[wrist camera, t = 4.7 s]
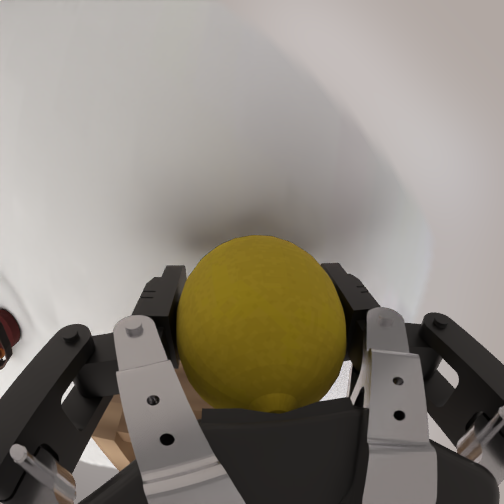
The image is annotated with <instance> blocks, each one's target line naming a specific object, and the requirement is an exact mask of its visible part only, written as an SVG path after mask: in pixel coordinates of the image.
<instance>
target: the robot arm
mask: <svg viewBox="0 0 504 504" xmlns="http://www.w3.org/2000/svg"><path fill="white" fill-rule="evenodd" d="M320 266H321V267H322V268H323V269H324V270H325V272H326V273H327V274H328V276H329V277H330V279H331V280H332V282H333V284H334V287H335V289H336V292H337V294H338V296H339V299H340V302H341V304H342V307H343V311H344V315H345V322H346V355H345V358H344V361H348V360H351V362H352V365H351V368H350V371H349V380H348V388H347V395H346V397H345V398H339V399H333V400H326V401H319V402H315V403H312V404H309V405H306V406H303V407H300V408H297V409H294V410H291V411H288V412H285V413H280V414H277V413H268V412H261V411H254V410H248V409H242V408H223V409H213V408H202V417H201V419H198V420H197V419H196V417H195V415H194V413H193V411H192V409H191V407H190V405H189V402H188V400H187V398H186V396H185V393H184V391H183V389H182V387H181V384H180V382H179V380H178V377H177V375H176V372H175V370H174V369H178V368H179V362H180V357H179V353H178V348H177V339H176V315H177V307H178V303H179V300H180V297H181V294H182V291H183V288H184V285H185V282H186V280H187V278H186V269H185V266H184V265H181V266H166V268H165V270H164V273H163V275H162V277H154V278H153V279H152V280H150V281H149V282H148V283H147V284H146V286H145V288H144V290H143V292H142V294H141V296H140V298H139V300H138V302H137V305H136V307H135V309H134V311H133V313H132V315H131V316H128V317H126V318H123V319H121V320H120V321H119V322H117V324H116V325H115V326H114V329H113V333H109V334H103V335H96V336H92V335H91V333H90V330H89V328H88V327H86V326H85V325H81V324H72V325H68V326H66V327H64V328H62V329H60V330H59V331H58V332H57V333H56V334H55V335H54V336H53V337H52V338H51V339H50V340H49V342H48V343H47V344H46V345H45V346H44V347H43V348H42V349H41V351H40V352H39V353H38V354H37V355H36V356H35V357H34V358H33V360H32V361H31V362H30V363H29V364H28V365H27V367H26V368H25V369H24V370H23V371H22V373H21V374H20V375H19V376H18V377H17V379H16V380H15V381H14V382H13V384H12V385H11V386H10V387H9V389H8V390H7V391H6V392H5V394H4V395H3V396H2V397H1V399H0V504H74V502H73V501H74V500H75V499H76V491H75V490H76V485H75V480H74V478H73V476H72V473H73V471H74V469H75V467H76V465H77V463H78V461H79V459H80V457H81V455H82V453H83V451H84V449H85V447H86V445H87V444H88V442H89V440H90V438H91V436H92V434H93V432H94V430H95V429H96V427H97V425H98V423H99V421H100V419H101V418H102V416H103V414H104V412H105V410H106V409H107V407H108V405H109V403H110V401H111V400H112V398H113V396H114V395H117V394H120V398H121V402H122V407H123V412H124V416H125V420H126V424H127V428H128V432H129V436H130V440H131V443H132V447H133V450H134V454H135V457H136V459H135V460H133V461H132V462H131V463H130V464H129V465H127V466H126V467H125V468H124V469H122V470H121V471H120V472H119V473H118V474H116V475H115V476H114V477H113V478H111V479H110V480H109V481H107V482H106V483H105V484H103V485H102V486H101V487H100V488H98V489H97V490H96V491H94V492H93V493H92V494H90V495H89V496H88V497H86V498H85V499H83V500H82V501H81V502H80V503H78V504H499V487H498V485H499V484H500V483H501V482H502V481H503V480H504V365H503V364H502V363H501V362H500V361H499V360H498V359H497V358H495V357H494V356H493V355H492V354H491V353H490V352H489V351H488V350H487V349H485V348H484V347H483V346H482V345H481V344H480V343H479V342H477V341H476V340H475V339H474V338H473V337H472V336H471V335H469V334H468V333H467V332H466V331H465V330H464V329H462V328H461V327H460V326H459V325H457V324H456V323H455V322H454V321H453V320H452V319H450V318H449V317H447V316H446V315H443V314H440V313H428V314H426V315H425V316H424V319H423V321H422V324H412V323H404V319H403V317H402V316H401V315H400V314H399V313H398V312H396V311H394V310H392V309H389V308H385V307H380V305H379V304H378V303H377V302H376V300H375V299H374V298H373V296H372V295H371V294H370V293H368V290H367V289H366V287H364V285H363V284H362V282H361V281H360V280H359V279H358V278H356V277H355V276H353V275H351V274H347V273H346V272H345V270H344V269H343V268H342V267H341V265H340V264H339V263H322V264H321V265H320ZM442 358H443V359H444V360H445V361H446V362H447V363H448V364H449V365H450V366H451V367H452V368H453V369H454V370H455V371H456V372H457V374H458V376H459V383H458V386H457V387H456V389H454V388H453V386H452V385H451V384H450V383H448V381H447V380H446V379H445V378H444V377H443V376H442V375H441V374H440V373H439V372H438V370H437V368H438V366H439V364H440V362H441V360H442ZM72 381H73V382H74V384H75V385H74V387H73V388H72V390H71V391H70V393H69V394H68V396H67V397H66V399H65V400H64V402H63V403H62V405H61V399H62V396H63V394H64V392H65V391H66V390H67V388H68V387H69V385H70V384H71V382H72ZM427 412H428V413H429V415H430V416H431V417H432V418H433V420H434V421H435V422H436V423H437V424H438V426H439V427H440V428H441V429H442V431H443V432H444V433H445V434H446V436H447V437H448V438H449V439H450V441H451V442H452V443H453V444H454V446H455V447H456V448H457V453H456V452H454V451H452V450H450V449H448V448H446V447H444V446H442V445H440V444H438V443H436V442H434V441H433V440H431V439H429V430H428V418H427Z"/></svg>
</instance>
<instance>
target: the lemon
mask: <svg viewBox="0 0 504 504" xmlns="http://www.w3.org/2000/svg"><path fill="white" fill-rule="evenodd" d="M176 339H177V348H178V353H179V357H180V361H181V363H182V366H183V369H184V371H185V374H186V376H187V379H188V381H189V383H190V384H191V385H192V387H193V388H194V389H195V391H196V392H197V393H198V394H199V395H200V397H201V398H202V399H203V400H204V401H206V402H207V403H208V404H209V405H211V406H212V407H213V408H215V409H223V408H242V409H248V410H254V411H261V412H268V413H277V414H280V413H285V412H288V411H291V410H294V409H297V408H300V407H303V406H306V405H309V404H312V403H315V402H318V401H320V400H321V399H322V398H323V397H324V396H325V395H326V394H327V392H328V391H329V390H330V388H331V387H332V385H333V384H334V382H335V381H336V379H337V377H338V376H339V373H340V370H341V367H342V364H343V361H344V358H345V355H346V322H345V315H344V311H343V307H342V304H341V302H340V299H339V296H338V294H337V292H336V289H335V287H334V284H333V282H332V280H331V279H330V277H329V276H328V274H327V273H326V272H325V270H324V269H323V268H322V267H321V266H320V265H319V263H318V262H317V261H316V260H315V259H314V258H313V257H312V256H311V255H310V254H308V253H307V252H306V251H304V250H303V249H301V248H299V247H298V246H296V245H295V244H293V243H291V242H289V241H286V240H283V239H279V238H276V237H273V236H262V235H251V236H245V237H239V238H234V239H232V240H230V241H228V242H225V243H223V244H221V245H219V246H217V247H216V248H215V249H213V250H212V251H211V252H210V253H208V254H207V255H206V256H205V257H203V258H202V259H201V260H200V262H199V263H198V264H197V266H196V267H195V268H194V270H193V271H192V273H191V274H190V275H189V277H188V278H187V280H186V282H185V285H184V288H183V291H182V294H181V297H180V300H179V303H178V307H177V315H176Z"/></svg>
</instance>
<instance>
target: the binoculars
mask: <svg viewBox="0 0 504 504" xmlns="http://www.w3.org/2000/svg"><path fill="white" fill-rule="evenodd" d="M19 339H20V330H19V327H18V324H17V322H16V320H15V319H14V317H13V316H12V315H11V314H10V313H9V312H8V311H6V310H3V309H1V310H0V358H3V357H4V355H5V357H6V360H4V361H3V359H0V370H1V369H3V368H4V367H5V365H6V363H7V362H8V360H9V359H10V357H11V355H12V347H13V346H14V345H15V344H16V343H17V342H18V341H19Z"/></svg>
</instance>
